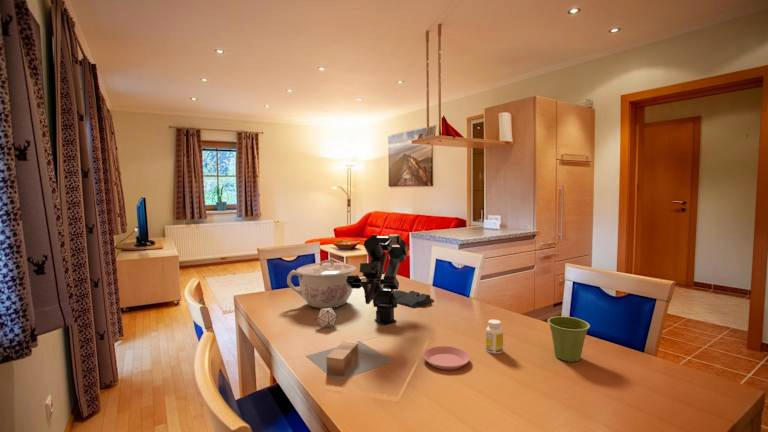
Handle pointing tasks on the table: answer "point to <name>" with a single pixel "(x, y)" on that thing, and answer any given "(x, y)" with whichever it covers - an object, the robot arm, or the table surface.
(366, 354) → the rubber mat
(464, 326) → the table surface
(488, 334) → the supplement bottle
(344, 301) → the chamber pot
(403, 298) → the dark slate chunk
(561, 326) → the plant pot
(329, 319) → the game die
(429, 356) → the plate
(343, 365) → the walnut block
